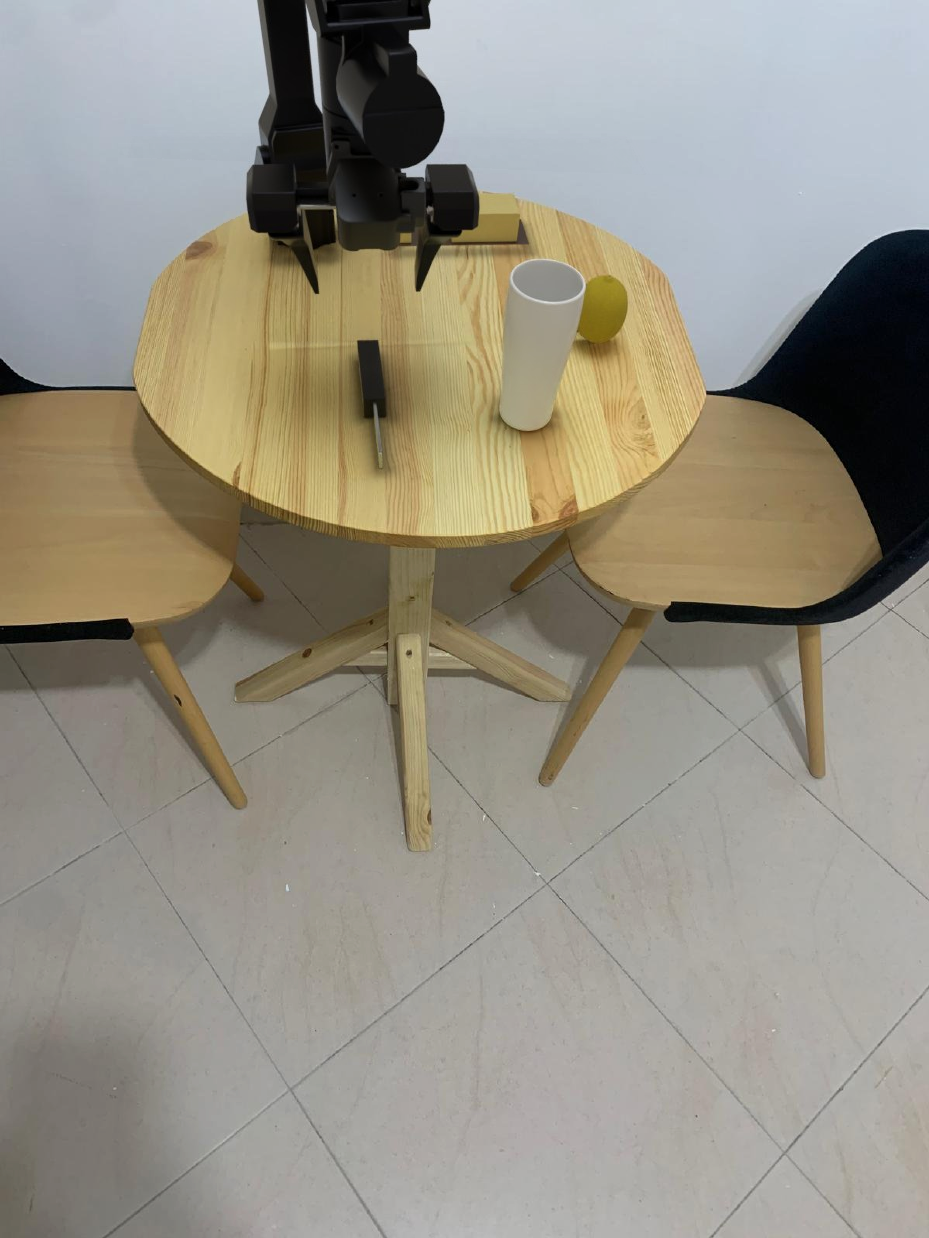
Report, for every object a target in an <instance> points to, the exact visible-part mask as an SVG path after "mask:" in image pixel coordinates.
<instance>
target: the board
mask: <svg viewBox="0 0 929 1238" xmlns="http://www.w3.org/2000/svg"><path fill="white" fill-rule="evenodd" d="M417 236H418V228H415V233H411V243H400V244H399V246H398V247H417ZM513 245H515V246H517V245H520V246H522V245H523V246H524V245H530V242H529V239H528V236H527V233H526V230H525V227H524V223H523V221H522V219H521V218H520V219H519V227H518V235H517V241H513V242H452V241H451V238H450V239H448V240H447V241H445V242H444V243H443V244H442V245H441V247H443V246H444V247H447V246H448V247H449V246H450V247H451V246H452V247H453V246H457V247H459V246H513Z"/></svg>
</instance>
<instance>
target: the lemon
mask: <svg viewBox="0 0 929 1238" xmlns="http://www.w3.org/2000/svg"><path fill="white" fill-rule="evenodd" d="M585 283H586V289H585V295H584V302H583V307H582V312H581V317H580V321H579V325H578V329H577V332H578V333H579V335H580V336H581V337H582V338H583V339H584V340H586V341H588V342H590V343H591V344H599V343H605V342H608V341H610V340H612V339H614V338H615V337H616V336H617V334H619V333H620V331H621V329H622V328H623V327H624V324H625V321H626V319H627V316H628V315H627V314H628V307H629V299H628V297H629V296H628V292H627V290H626V287H625V285H624V284H623V283H622V281H620V280H619V279H618V278H617V277H614V276H612V275H611V274H602V275H598V276H595V277H593V278H592V279H590V280H588V281H587V282H585Z"/></svg>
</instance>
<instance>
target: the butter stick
mask: <svg viewBox="0 0 929 1238" xmlns="http://www.w3.org/2000/svg"><path fill="white" fill-rule="evenodd" d="M478 194H479V204H480V210H479V222H478V227H476V228H475V229H473V230H462V234H461V235H460V236H459V237H457V238H451V241H452V242H513V241H517V235H518V227H519V219H521V218H520V217H521V212H520V211H521V210H520V209H519V205H518V202H517V200H516V197H515V194H514V192H513V193H512V192H510V193H509V192H504V193H503V192H502V193H493V192H492V193H491V192H490V193H478Z"/></svg>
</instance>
